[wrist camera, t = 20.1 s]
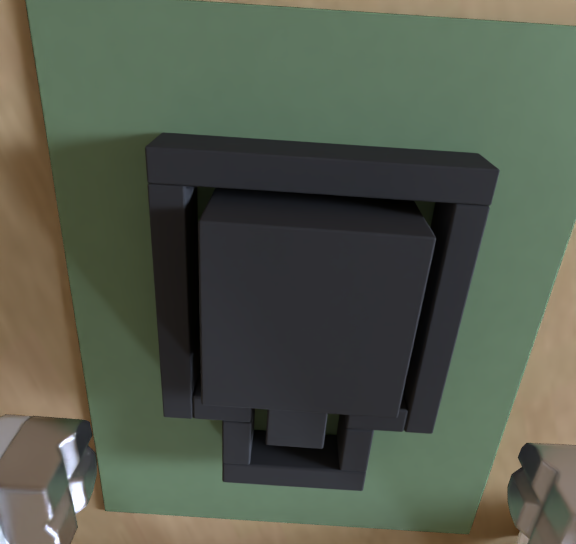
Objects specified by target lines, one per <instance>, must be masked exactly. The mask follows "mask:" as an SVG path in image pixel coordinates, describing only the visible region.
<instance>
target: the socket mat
mask: <svg viewBox="0 0 576 544" xmlns="http://www.w3.org/2000/svg"><path fill="white" fill-rule="evenodd" d="M25 1H26V8H27V14H28V20H29V27H30V33H31V39H32V46H33V52H34V59H35V65H36V71H37V78H38V84H39V91H40V97H41V103H42V110H43V116H44V122H45V129H46V135H47V142H48V148H49V154H50V161H51V167H52V174H53V180H54V186H55V193H56V199H57V206H58V212H59V218H60V225H61V231H62V237H63V244H64V250H65V257H66V263H67V269H68V276H69V282H70V289H71V295H72V301H73V308H74V314H75V320H76V327H77V333H78V340H79V346H80V352H81V359H82V365H83V372H84V378H85V384H86V391H87V397H88V404H89V410H90V416H91V423H92V429H93V435H94V442H95V448H96V455H97V461H98V467H99V474H100V480H101V487H102V493H103V499H104V506H105V511H112V512H128V513H143V514H159V515H175V516H190V517H206V518H221V519H237V520H252V521H268V522H284V523H299V524H315V525H330V526H346V527H361V528H377V529H393V530H408V531H424V532H439V533H455V534H469V532H470V529H471V527H472V524H473V521H474V518H475V515H476V512H477V509H478V506H479V503H480V500H481V497H482V494H483V491H484V488H485V485H486V482H487V479H488V476H489V474H490V471H491V468H492V465H493V462H494V459H495V456H496V453H497V450H498V447H499V444H500V441H501V438H502V435H503V432H504V429H505V426H506V424H507V421H508V418H509V415H510V412H511V409H512V406H513V403H514V400H515V397H516V394H517V391H518V388H519V385H520V382H521V379H522V376H523V373H524V371H525V368H526V365H527V362H528V359H529V356H530V353H531V350H532V347H533V344H534V341H535V338H536V335H537V332H538V329H539V326H540V323H541V321H542V318H543V315H544V312H545V309H546V306H547V303H548V300H549V297H550V294H551V291H552V288H553V285H554V282H555V279H556V276H557V273H558V270H559V268H560V265H561V262H562V259H563V256H564V253H565V250H566V247H567V244H568V241H569V238H570V235H571V232H572V229H573V226H574V223H575V220H576V26H569V25H554V24H539V23H524V22H509V21H494V20H478V19H463V18H448V17H433V16H418V15H403V14H388V13H373V12H358V11H343V10H328V9H313V8H298V7H283V6H268V5H253V4H237V3H222V2H207V1H192V0H25ZM215 188H228V189H243V190H259V191H274V192H289V193H304V194H320V195H335V196H350V197H365V198H381V199H396V200H411V201H414V202H415V203H416V205H417V207H418V208H419V210H420V212H421V213H422V215H423V217H424V218H425V220H426V222H427V223H428V225H429V227H430V229H431V230H432V232H433V234H434V235H435V237H436V242H435V247H434V252H433V256H432V261H431V265H430V270H429V275H428V279H427V284H426V289H425V293H424V298H423V303H422V307H421V312H420V317H419V321H418V326H417V331H416V335H415V340H414V344H413V349H412V354H411V358H410V363H409V368H408V372H407V377H406V382H405V386H404V391H403V396H402V400H401V405H400V410H399V414H398V417H397V418H385V417H370V416H356V415H341V414H328V416H327V423H326V431H325V439H324V446H323V448H322V449H319V448H305V447H290V446H276V445H266V426H267V409H254V408H239V407H225V406H210V405H202V403H201V366H200V311H199V256H198V221H199V219H200V217H201V215H202V213H203V211H204V209H205V207H206V205H207V203H208V202H209V200H210V198H211V196H212V194H213V192H214V190H215Z"/></svg>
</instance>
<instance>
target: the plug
mask: <svg viewBox="0 0 576 544" xmlns="http://www.w3.org/2000/svg"><path fill="white" fill-rule="evenodd" d="M435 242H436V237H435V235H434V234H433V232H432V230H431V229H430V227H429V225H428V223H427V222H426V220H425V218H424V217H423V215H422V213H421V212H420V210H419V208H418V207H417V205H416V203H415V202H414V201H411V200H396V199H381V198H365V197H350V196H335V195H320V194H304V193H289V192H274V191H259V190H243V189H228V188H215V190H214V192H213V194H212V196H211V198H210V200H209V202H208V203H207V205H206V207H205V209H204V211H203V213H202V215H201V217H200V219H199V221H198V256H199V311H200V366H201V403H202V405H210V406H225V407H239V408H254V409H267V426H266V445H276V446H290V447H305V448H319V449H322V448H323V446H324V439H325V431H326V423H327V416H328V414H341V415H356V416H370V417H385V418H397V417H398V414H399V410H400V405H401V400H402V396H403V391H404V386H405V382H406V377H407V372H408V368H409V363H410V358H411V354H412V349H413V344H414V340H415V335H416V331H417V326H418V321H419V317H420V312H421V307H422V303H423V298H424V293H425V289H426V284H427V279H428V275H429V270H430V265H431V261H432V256H433V252H434V247H435Z"/></svg>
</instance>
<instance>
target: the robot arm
mask: <svg viewBox="0 0 576 544" xmlns="http://www.w3.org/2000/svg"><path fill="white" fill-rule="evenodd" d="M91 437H92V431H91V426H90V422H89V421H86V420H80V419H67V418H54V417H41V416H21V415H9V414H5V415H4V416H2V417H0V544H71V542H72V540H73V537H74V535H75V533H76V530H77V528H78V526H77V521H76V516H75V514H76V513H78V512H79V511H80V510H82V509H83V508H84V507H85V506H87V504H88V502H89V500H90V497H91V495H92V492H93V489H94V484H95V480H96V475H97V459H96V453H95V452H94V451H93V450H92V449H91V448H90V447H89V446H88V444H89V441H90V439H91ZM518 459H519V461H520V463H521V465H522V467H521V468H520V469H518V470H517V471H516V472H514V473H513V474H512V475H511V478H510V481H509V484H508V505H509V510H510V514H511V517H512V519H513V522H514V524H515V527H516V528H517V529H518V530H520V531H521V532H522V533H523V534H524V535H525V536H526V537H527V538H529V540H528V543H527V544H576V445H564V444H541V443H526V444H525V445H524V446H523V447H522V448H521V451H520V453H519V456H518Z"/></svg>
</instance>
